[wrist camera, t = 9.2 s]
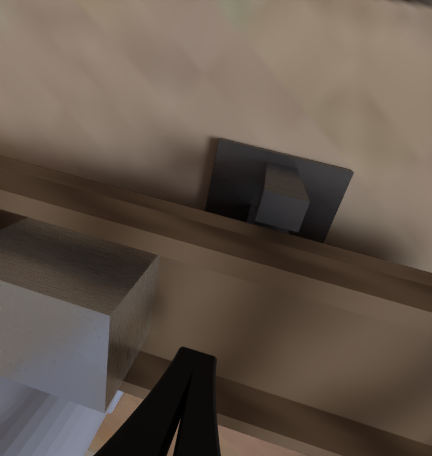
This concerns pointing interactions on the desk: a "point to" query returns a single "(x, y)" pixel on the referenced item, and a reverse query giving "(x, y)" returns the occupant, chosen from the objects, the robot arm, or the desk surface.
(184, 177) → the desk surface
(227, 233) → the wooden rimmed tray
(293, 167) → the pivot stand
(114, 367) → the block
